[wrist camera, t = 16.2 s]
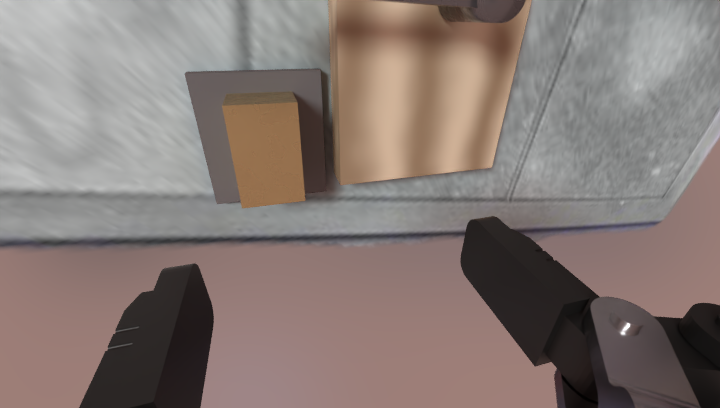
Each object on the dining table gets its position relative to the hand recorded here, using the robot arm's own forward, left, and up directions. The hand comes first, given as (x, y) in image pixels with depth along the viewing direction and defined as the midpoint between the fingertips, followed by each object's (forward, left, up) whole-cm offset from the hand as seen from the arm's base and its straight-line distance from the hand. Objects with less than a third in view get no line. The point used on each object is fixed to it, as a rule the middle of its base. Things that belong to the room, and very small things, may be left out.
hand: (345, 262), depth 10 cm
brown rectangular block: (+2, +3, -20) cm, 20 cm away
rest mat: (+2, +3, -21) cm, 21 cm away
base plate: (-12, -1, -21) cm, 24 cm away
